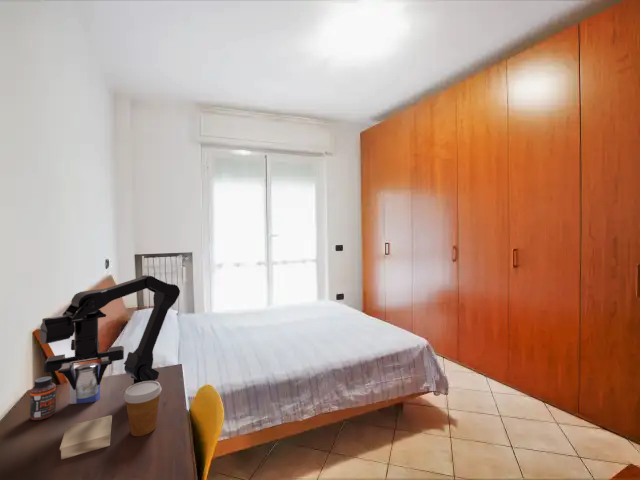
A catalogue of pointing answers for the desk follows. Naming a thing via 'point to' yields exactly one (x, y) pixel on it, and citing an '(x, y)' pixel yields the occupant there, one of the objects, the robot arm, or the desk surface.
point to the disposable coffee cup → (142, 406)
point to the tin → (86, 380)
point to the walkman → (83, 400)
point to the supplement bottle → (42, 399)
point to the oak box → (86, 437)
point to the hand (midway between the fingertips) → (87, 386)
